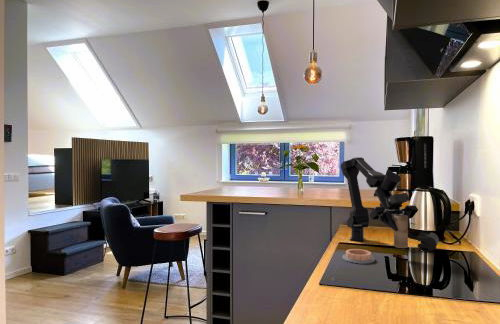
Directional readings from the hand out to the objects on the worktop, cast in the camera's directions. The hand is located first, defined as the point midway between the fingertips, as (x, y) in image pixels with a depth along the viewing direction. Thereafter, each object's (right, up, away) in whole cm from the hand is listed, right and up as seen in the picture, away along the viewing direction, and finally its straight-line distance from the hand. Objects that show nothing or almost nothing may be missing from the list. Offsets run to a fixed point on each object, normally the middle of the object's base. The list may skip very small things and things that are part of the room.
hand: (403, 230), depth 135 cm
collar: (-17, -12, +2) cm, 21 cm away
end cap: (+18, -12, +16) cm, 27 cm away
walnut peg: (0, -7, +1) cm, 7 cm away
